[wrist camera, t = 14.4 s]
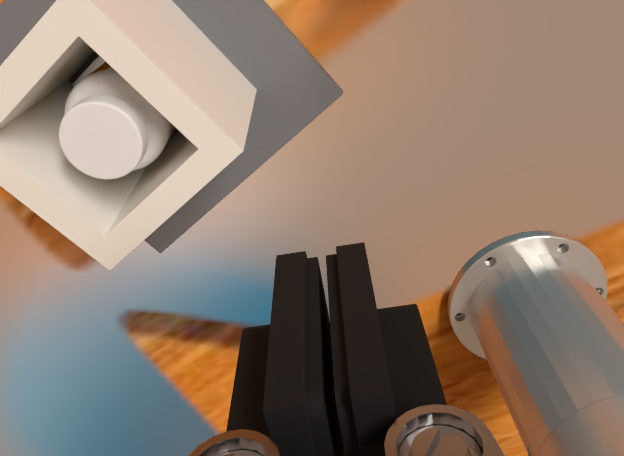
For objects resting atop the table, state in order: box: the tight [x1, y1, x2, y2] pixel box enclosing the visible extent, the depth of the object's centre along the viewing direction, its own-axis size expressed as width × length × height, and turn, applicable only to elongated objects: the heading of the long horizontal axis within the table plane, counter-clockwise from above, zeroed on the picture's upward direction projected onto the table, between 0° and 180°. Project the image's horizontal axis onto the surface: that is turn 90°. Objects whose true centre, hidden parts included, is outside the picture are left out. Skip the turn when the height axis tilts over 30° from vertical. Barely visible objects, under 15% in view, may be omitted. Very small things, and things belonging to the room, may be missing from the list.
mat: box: [0, 0, 343, 253], centre depth 37 cm, size 18×18×1 cm
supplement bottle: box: [59, 62, 176, 179], centre depth 32 cm, size 5×5×10 cm
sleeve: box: [0, 0, 257, 271], centre depth 32 cm, size 10×10×11 cm
